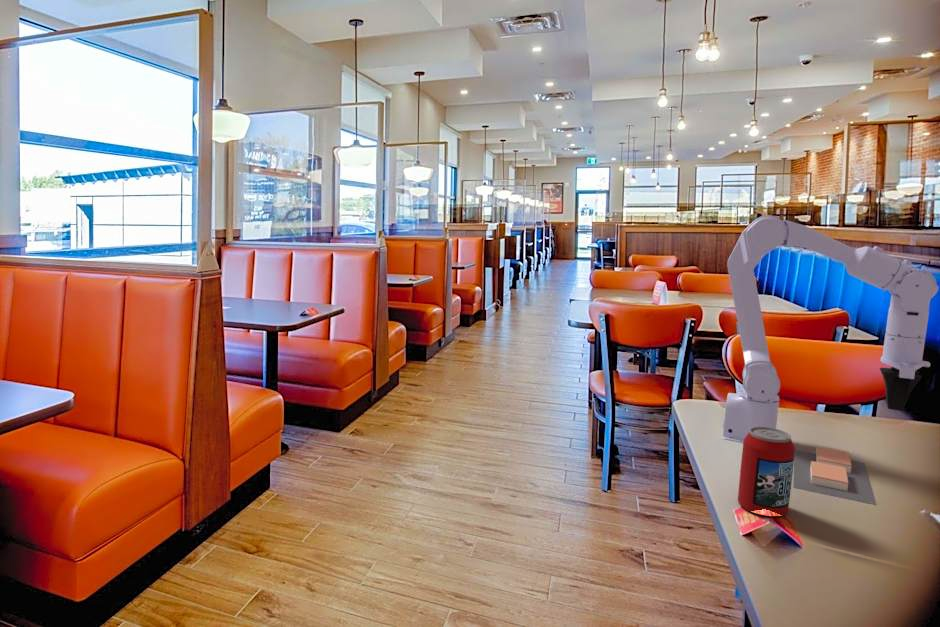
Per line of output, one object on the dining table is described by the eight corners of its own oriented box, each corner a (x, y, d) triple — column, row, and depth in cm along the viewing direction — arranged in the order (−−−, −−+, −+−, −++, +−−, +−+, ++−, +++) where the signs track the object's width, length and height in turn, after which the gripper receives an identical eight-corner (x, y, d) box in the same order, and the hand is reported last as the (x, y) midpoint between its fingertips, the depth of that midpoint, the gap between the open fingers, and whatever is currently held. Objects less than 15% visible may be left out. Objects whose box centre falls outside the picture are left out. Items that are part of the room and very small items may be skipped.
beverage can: (767, 525, 81) (776, 444, 79) (727, 504, 87) (734, 428, 85) (797, 515, 84) (807, 437, 82) (756, 496, 90) (764, 422, 88)
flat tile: (816, 466, 101) (817, 458, 101) (815, 453, 107) (816, 446, 107) (850, 472, 99) (851, 465, 98) (847, 459, 105) (848, 452, 104)
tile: (812, 475, 94) (811, 460, 100) (811, 483, 94) (810, 468, 100) (848, 482, 91) (845, 467, 98) (847, 490, 92) (844, 475, 98)
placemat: (793, 489, 93) (793, 487, 92) (794, 451, 109) (794, 449, 109) (875, 507, 87) (876, 504, 87) (863, 464, 104) (864, 462, 103)
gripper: (942, 344, 94) (930, 424, 96) (925, 331, 106) (915, 402, 108) (889, 339, 97) (879, 416, 99) (879, 327, 110) (870, 396, 112)
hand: (894, 409), depth 104 cm, fingers closed
